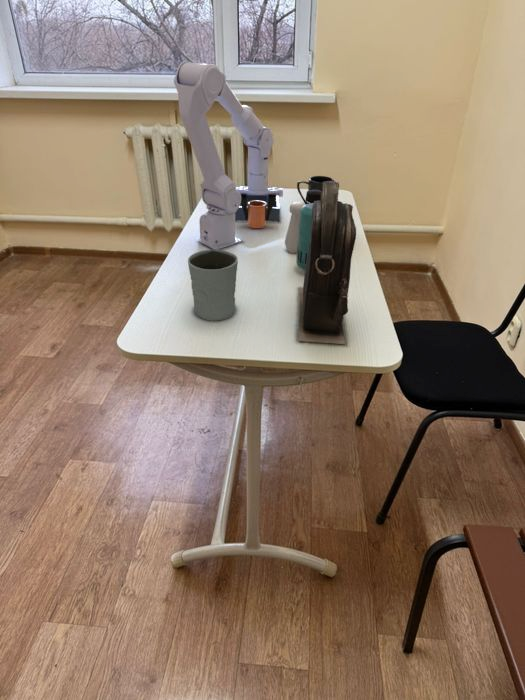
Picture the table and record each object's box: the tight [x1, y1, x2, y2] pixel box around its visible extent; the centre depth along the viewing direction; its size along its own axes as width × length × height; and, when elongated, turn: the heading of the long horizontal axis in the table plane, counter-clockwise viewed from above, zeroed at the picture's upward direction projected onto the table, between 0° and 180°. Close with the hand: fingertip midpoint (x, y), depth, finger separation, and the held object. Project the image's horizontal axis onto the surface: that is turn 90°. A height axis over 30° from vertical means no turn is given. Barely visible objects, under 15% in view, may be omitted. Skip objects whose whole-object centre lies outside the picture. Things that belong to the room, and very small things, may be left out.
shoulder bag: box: [298, 180, 357, 345], centre depth 94 cm, size 23×9×28 cm, turn 176°
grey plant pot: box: [187, 249, 239, 322], centre depth 99 cm, size 10×10×12 cm
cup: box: [246, 200, 267, 229], centre depth 140 cm, size 6×6×6 cm
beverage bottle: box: [296, 190, 322, 271], centre depth 114 cm, size 6×7×20 cm
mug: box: [296, 175, 335, 205], centre depth 155 cm, size 8×12×10 cm
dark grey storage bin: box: [235, 195, 281, 222], centre depth 151 cm, size 14×14×4 cm
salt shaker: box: [284, 201, 305, 254], centre depth 126 cm, size 6×6×13 cm
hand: (257, 219), depth 141 cm, fingers closed on cup, 5 cm apart
